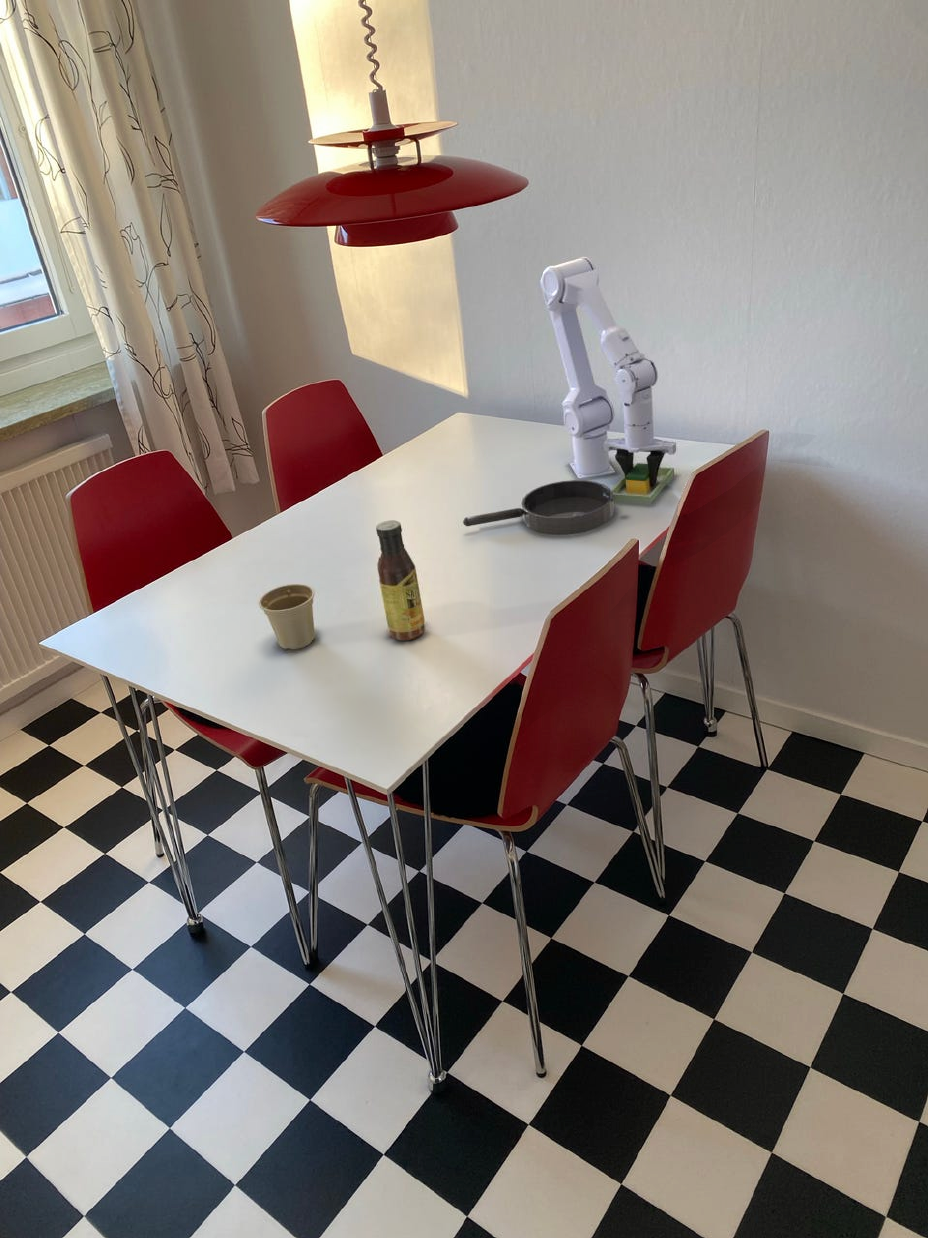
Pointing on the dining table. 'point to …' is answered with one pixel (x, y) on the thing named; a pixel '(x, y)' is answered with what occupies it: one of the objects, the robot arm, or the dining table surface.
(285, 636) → the flower pot
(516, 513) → the pan handle
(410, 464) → the dining table surface
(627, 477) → the sponge
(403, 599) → the sauce bottle
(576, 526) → the pan
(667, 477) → the sponge tray
